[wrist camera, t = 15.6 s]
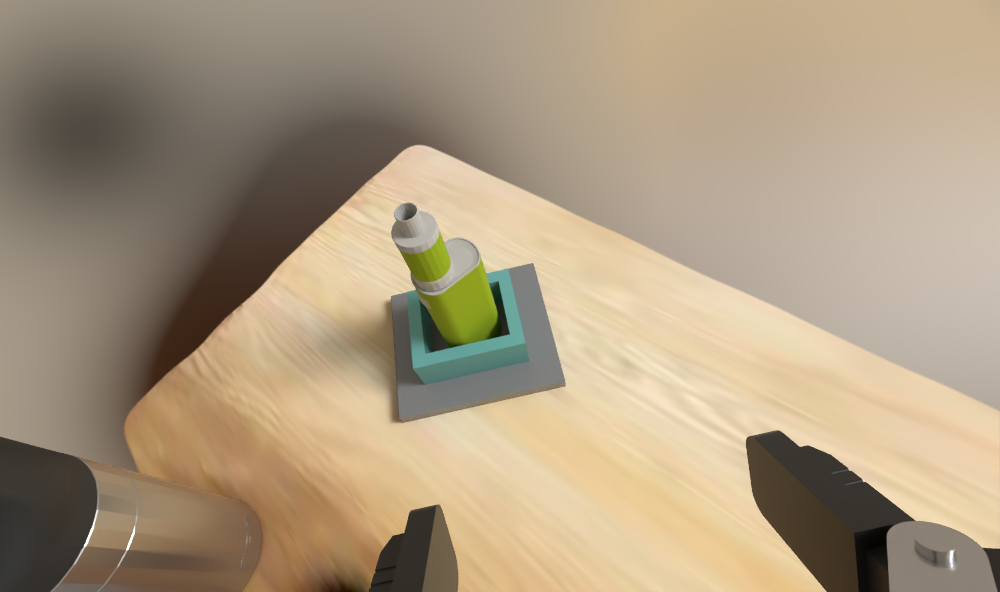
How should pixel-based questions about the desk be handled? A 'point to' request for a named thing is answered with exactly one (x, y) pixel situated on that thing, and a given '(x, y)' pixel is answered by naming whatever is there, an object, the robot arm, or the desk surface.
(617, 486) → the desk surface
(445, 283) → the vape
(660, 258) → the desk surface
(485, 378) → the dock
